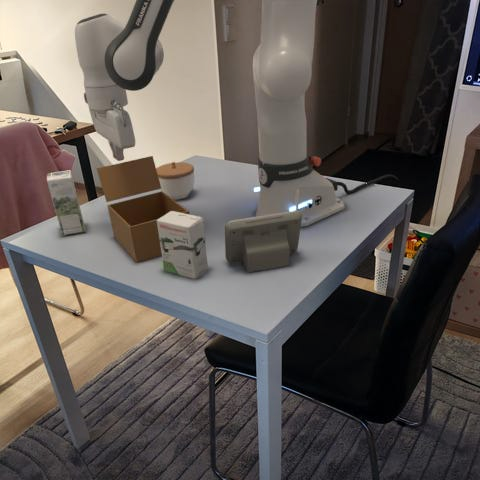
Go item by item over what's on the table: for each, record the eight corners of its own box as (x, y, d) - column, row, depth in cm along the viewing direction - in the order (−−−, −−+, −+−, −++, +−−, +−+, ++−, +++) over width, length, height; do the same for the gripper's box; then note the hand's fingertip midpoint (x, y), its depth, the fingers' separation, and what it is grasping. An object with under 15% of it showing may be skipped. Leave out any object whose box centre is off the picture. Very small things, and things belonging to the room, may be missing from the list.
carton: (114, 238, 127) (107, 205, 123) (167, 223, 133) (161, 191, 128) (137, 262, 116) (129, 227, 111) (193, 245, 121) (189, 211, 116)
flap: (106, 202, 122) (106, 202, 123) (161, 188, 127) (161, 188, 128) (96, 168, 120) (96, 168, 121) (152, 155, 125) (152, 156, 126)
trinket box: (151, 196, 149) (145, 163, 144) (182, 186, 155) (178, 154, 149) (173, 206, 142) (167, 171, 137) (204, 194, 148) (200, 161, 142)
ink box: (162, 271, 112) (154, 219, 105) (177, 261, 115) (169, 210, 108) (196, 279, 107) (188, 226, 101) (209, 269, 111) (203, 216, 104)
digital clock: (299, 249, 116) (299, 203, 110) (304, 268, 108) (304, 220, 102) (226, 254, 116) (221, 208, 110) (226, 274, 108) (221, 226, 102)
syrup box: (84, 224, 136) (70, 168, 128) (85, 232, 131) (71, 175, 123) (62, 228, 135) (46, 172, 127) (62, 237, 130) (46, 179, 122)
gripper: (136, 102, 112) (146, 167, 120) (107, 89, 127) (118, 147, 135) (107, 107, 110) (120, 173, 117) (81, 93, 125) (94, 152, 133)
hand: (119, 159), depth 126 cm, fingers closed
